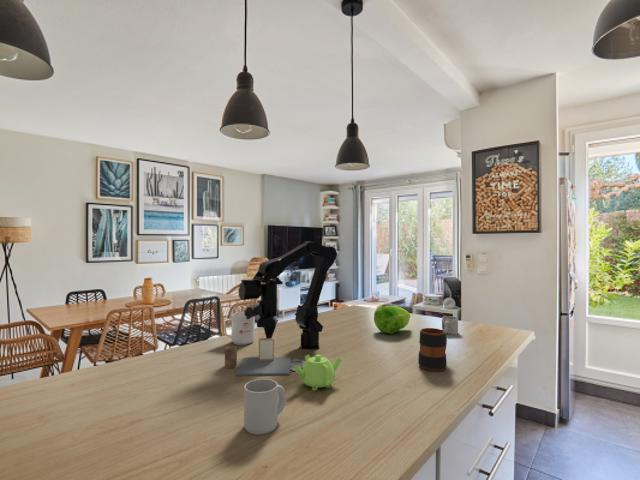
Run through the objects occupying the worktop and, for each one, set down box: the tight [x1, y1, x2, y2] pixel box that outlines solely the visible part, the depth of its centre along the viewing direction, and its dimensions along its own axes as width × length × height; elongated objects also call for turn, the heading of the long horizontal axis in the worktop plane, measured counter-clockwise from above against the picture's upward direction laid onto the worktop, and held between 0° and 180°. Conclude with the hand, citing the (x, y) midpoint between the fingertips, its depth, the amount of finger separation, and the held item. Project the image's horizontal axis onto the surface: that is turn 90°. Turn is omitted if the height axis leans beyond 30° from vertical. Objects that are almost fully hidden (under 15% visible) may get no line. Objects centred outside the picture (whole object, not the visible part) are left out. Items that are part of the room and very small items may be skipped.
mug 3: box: [441, 315, 459, 336], centre depth 154 cm, size 10×7×7 cm, turn 144°
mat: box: [235, 356, 292, 377], centre depth 112 cm, size 16×14×1 cm
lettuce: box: [373, 305, 411, 335], centre depth 157 cm, size 14×20×12 cm
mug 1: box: [223, 311, 256, 346], centre depth 139 cm, size 12×9×11 cm
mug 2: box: [417, 327, 448, 372], centre depth 114 cm, size 9×12×12 cm
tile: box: [258, 337, 275, 361], centre depth 117 cm, size 5×2×7 cm, turn 93°
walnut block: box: [224, 345, 238, 369], centre depth 113 cm, size 3×3×6 cm
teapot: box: [293, 353, 342, 392], centre depth 99 cm, size 11×12×8 cm
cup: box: [243, 378, 287, 436], centre depth 78 cm, size 7×10×9 cm
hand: (268, 341), depth 124 cm, fingers closed
